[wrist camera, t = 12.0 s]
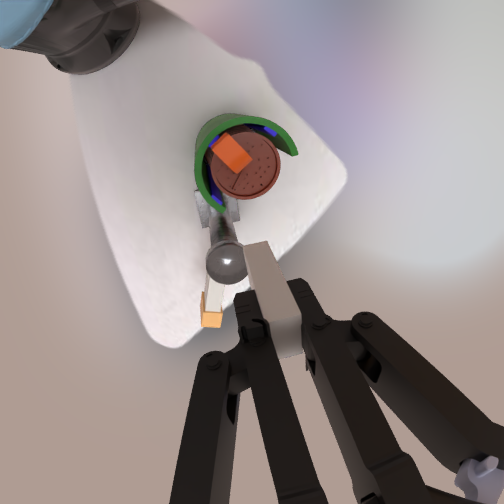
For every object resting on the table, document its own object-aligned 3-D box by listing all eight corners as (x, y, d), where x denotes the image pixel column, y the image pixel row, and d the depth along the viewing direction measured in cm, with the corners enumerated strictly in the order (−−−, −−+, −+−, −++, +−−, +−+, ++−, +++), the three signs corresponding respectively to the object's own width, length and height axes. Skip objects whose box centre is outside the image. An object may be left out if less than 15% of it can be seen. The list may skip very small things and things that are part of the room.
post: (194, 190, 41) (191, 245, 26) (233, 182, 42) (254, 232, 26) (202, 226, 44) (205, 295, 29) (239, 218, 45) (262, 284, 29)
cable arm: (228, 245, 37) (232, 263, 33) (217, 306, 42) (220, 327, 38) (208, 243, 36) (210, 261, 32) (200, 305, 41) (201, 326, 37)
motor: (230, 188, 42) (253, 249, 25) (181, 156, 39) (165, 194, 21) (271, 135, 39) (327, 158, 22) (223, 100, 36) (243, 90, 18)
